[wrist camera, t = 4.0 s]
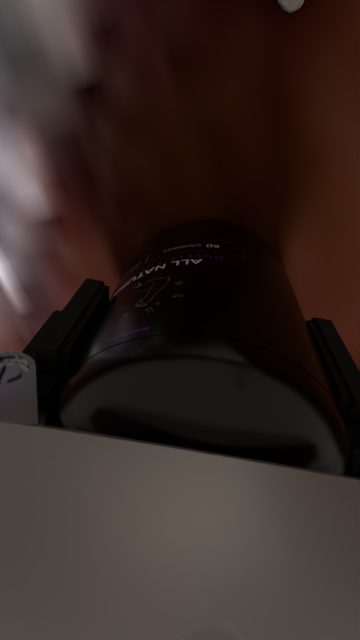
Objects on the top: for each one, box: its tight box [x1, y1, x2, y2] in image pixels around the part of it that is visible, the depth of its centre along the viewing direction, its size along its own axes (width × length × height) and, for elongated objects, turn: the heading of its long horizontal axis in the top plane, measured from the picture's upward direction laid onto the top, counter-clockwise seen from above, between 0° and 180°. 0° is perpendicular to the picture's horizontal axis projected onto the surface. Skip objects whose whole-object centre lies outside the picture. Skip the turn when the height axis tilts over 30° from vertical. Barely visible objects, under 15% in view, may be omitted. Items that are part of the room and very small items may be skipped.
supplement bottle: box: [44, 220, 353, 476], centre depth 9 cm, size 7×7×12 cm
